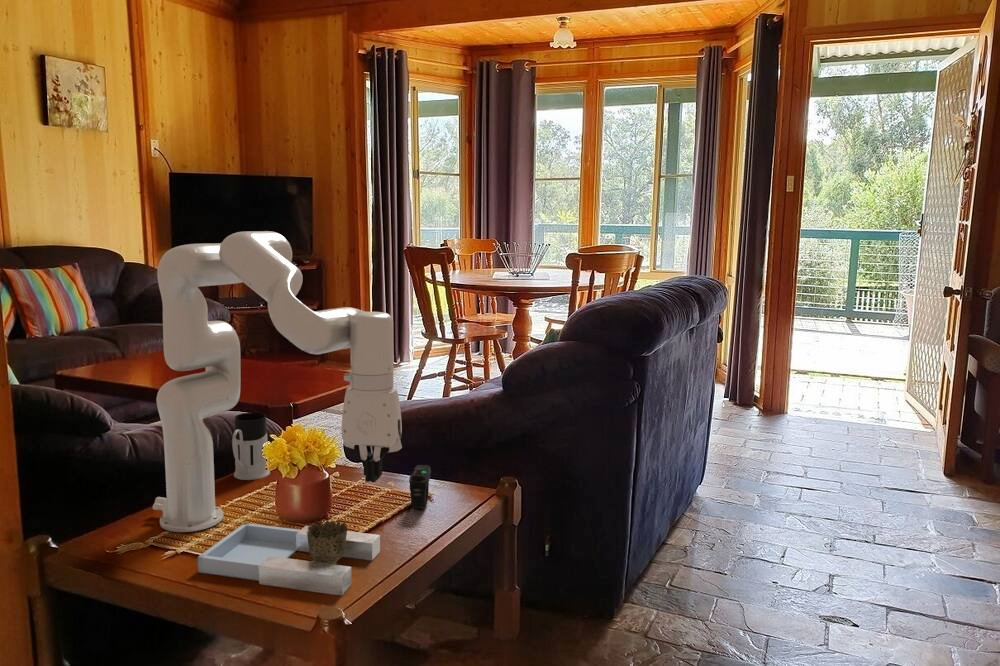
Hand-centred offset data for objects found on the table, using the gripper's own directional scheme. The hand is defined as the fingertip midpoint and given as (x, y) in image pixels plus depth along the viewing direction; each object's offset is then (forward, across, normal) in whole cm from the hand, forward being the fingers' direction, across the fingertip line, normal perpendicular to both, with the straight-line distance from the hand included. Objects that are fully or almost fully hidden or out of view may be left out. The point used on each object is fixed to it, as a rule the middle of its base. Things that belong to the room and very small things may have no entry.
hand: (373, 479), depth 137 cm
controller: (+19, -2, +34) cm, 39 cm away
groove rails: (+18, -10, 0) cm, 21 cm away
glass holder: (+18, -49, +39) cm, 66 cm away
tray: (+18, -25, 0) cm, 31 cm away
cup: (+19, -9, 0) cm, 21 cm away
